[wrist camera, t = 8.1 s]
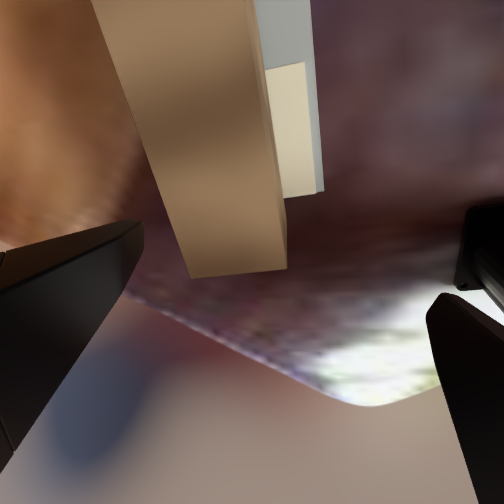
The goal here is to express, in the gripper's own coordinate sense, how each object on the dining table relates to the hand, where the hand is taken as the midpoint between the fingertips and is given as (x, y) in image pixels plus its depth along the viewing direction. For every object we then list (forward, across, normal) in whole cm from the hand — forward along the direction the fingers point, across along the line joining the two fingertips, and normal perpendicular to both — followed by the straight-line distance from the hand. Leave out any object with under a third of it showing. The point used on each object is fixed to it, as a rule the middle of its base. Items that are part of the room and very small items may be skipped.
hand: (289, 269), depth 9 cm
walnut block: (+10, +4, -2) cm, 11 cm away
